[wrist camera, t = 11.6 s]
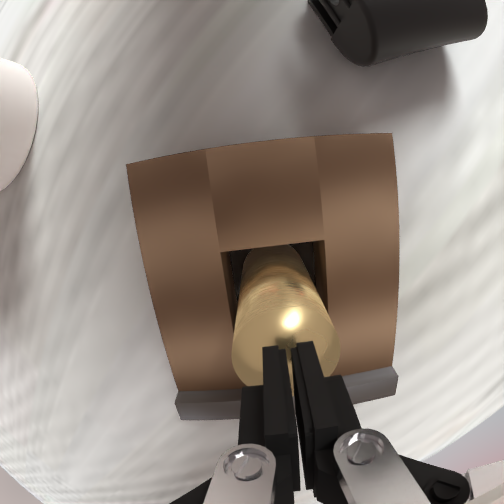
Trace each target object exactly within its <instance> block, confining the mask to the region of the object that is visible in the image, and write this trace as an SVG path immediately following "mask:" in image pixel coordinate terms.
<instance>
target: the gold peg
mask: <svg viewBox="0 0 504 504" xmlns="http://www.w3.org/2000/svg"><path fill="white" fill-rule="evenodd" d="M307 341H313V343H314V346H315V349H316V352H317V355H318V359H319V362H320V365H321V369H322V372H323V375H324V377H328V376H330V375H331V374H332V373H333V371H334V370H335V368H336V366H337V363H338V361H339V357H340V341H339V337H338V335H337V332H336V330H335V328H334V326H333V324H332V321H331V319H330V317H329V315H328V313H327V311H326V309H325V307H324V304H323V302H322V300H321V298H320V296H319V294H318V292H317V290H316V288H315V286H314V284H313V281H312V279H311V277H310V275H309V273H308V271H307V269H306V267H305V265H304V263H303V261H302V259H301V257H300V255H299V254H298V252H297V251H296V250H295V249H294V248H293V247H291V246H290V245H288V244H285V245H277V246H268V247H260V248H253V249H252V250H251V251H250V252H249V254H248V255H247V257H246V258H245V261H244V264H243V270H242V277H241V285H240V292H239V300H238V307H237V315H236V322H235V330H234V337H233V345H232V355H231V357H232V364H233V367H234V370H235V372H236V374H237V375H238V377H239V378H240V379H241V381H242V382H243V383H244V384H246V385H247V386H256V385H263V358H262V347H266V346H275V345H279V349H286V356H287V362H288V369H289V376H290V383H291V389H292V396H294V387H293V374H292V361H291V348H294V347H296V343H299V342H307Z"/></svg>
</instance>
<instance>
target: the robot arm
mask: <svg viewBox="0 0 504 504" xmlns="http://www.w3.org/2000/svg"><path fill="white" fill-rule="evenodd" d="M262 358H263V385H256V386H244V387H242V393H241V408H240V423H239V437H238V446H234V447H232V448H230V449H228V450H227V451H225V452H224V453H223V454H222V455H221V457H220V458H219V460H218V462H217V465H216V468H215V471H214V474H213V477H212V478H210V479H209V480H207V481H206V482H204V483H203V484H201V485H199V486H198V487H196V488H195V489H193V490H191V491H190V492H188V493H187V494H185V495H183V496H182V497H180V498H178V499H176V500H175V501H173V502H171V503H170V504H294V492H293V491H300V469H299V449H298V434H299V441H300V448H301V455H302V463H303V470H304V478H305V485H306V490H309V489H313V493H314V497H317V501H319V502H321V503H323V504H504V460H501V461H498V462H495V463H492V464H488V465H485V466H481V467H477V468H473V469H469V470H468V471H467V472H466V473H464V474H459V473H457V472H455V471H451V470H447V469H444V468H440V467H437V466H433V465H430V464H426V463H423V462H420V461H417V460H414V459H410V458H407V457H404V456H401V455H398V454H397V452H396V451H395V449H394V448H393V446H392V445H391V443H390V442H389V440H388V439H387V438H386V437H385V436H384V435H383V434H382V433H380V432H378V431H376V430H372V429H362V428H361V426H360V423H359V420H358V417H357V415H356V412H355V409H354V407H353V404H352V401H351V399H350V396H349V393H348V391H347V388H346V385H345V383H344V380H343V378H342V376H341V375H334V376H328V377H324V375H323V372H322V369H321V365H320V362H319V359H318V355H317V352H316V349H315V346H314V343H313V341H307V342H299V343H296V347H294V348H291V361H292V374H293V387H294V400H295V410H294V403H293V396H292V389H291V383H290V376H289V369H288V362H287V356H286V349H279V345H275V346H266V347H262ZM295 412H296V417H295ZM296 420H297V425H296ZM297 427H298V434H297Z"/></svg>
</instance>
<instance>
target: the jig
mask: <svg viewBox="0 0 504 504" xmlns="http://www.w3.org/2000/svg"><path fill="white" fill-rule="evenodd" d="M126 167H127V174H128V181H129V188H130V194H131V200H132V206H133V212H134V218H135V223H136V229H137V234H138V239H139V244H140V249H141V254H142V259H143V264H144V268H145V273H146V277H147V281H148V286H149V290H150V294H151V298H152V302H153V306H154V310H155V314H156V318H157V321H158V325H159V329H160V332H161V336H162V339H163V343H164V346H165V350H166V353H167V357H168V360H169V363H170V366H171V370H172V373H173V376H174V379H175V382H176V385H177V388H178V394H177V397H176V400H175V405H176V408H177V411H178V413H179V416H180V419H181V420H223V419H240V408H241V393H242V387H244V386H247V385H246V384H244V383H243V382H242V381H241V379H240V378H239V377H238V375H237V374H236V372H235V370H234V367H233V364H232V357H231V355H232V345H233V337H234V330H235V322H236V315H237V307H238V304H237V298H236V291H235V285H234V278H233V272H232V265H231V258H230V252H229V251H234V250H243V249H251V248H260V247H268V246H277V245H285V244H293V243H302V242H310V241H313V251H314V264H315V279H316V290H317V292H318V294H319V296H320V298H321V300H322V302H323V304H324V307H325V309H326V311H327V313H328V315H329V317H330V319H331V321H332V324H333V326H334V328H335V330H336V332H337V335H338V337H339V341H340V357H339V361H338V363H337V366H336V368H335V370H334V371H333V373H332V374H331V375H330V376H334V375H341V376H342V378H343V380H344V383H345V385H346V388H347V391H348V393H349V396H350V399H351V401H352V404H357V403H362V402H366V401H371V400H375V399H380V398H384V397H388V396H392V395H395V393H396V387H397V382H398V375H397V373H396V372H395V370H394V368H393V367H392V361H393V353H394V344H395V334H396V322H397V308H398V289H399V210H398V191H397V177H396V165H395V155H394V146H393V137H392V133H371V134H343V135H325V136H310V137H298V138H287V139H276V140H267V141H258V142H250V143H242V144H235V145H228V146H221V147H214V148H208V149H202V150H196V151H190V152H184V153H179V154H174V155H168V156H163V157H158V158H153V159H149V160H144V161H139V162H135V163H130V164H126ZM293 403H294V410H295V400H294V396H293ZM295 414H296V412H295Z"/></svg>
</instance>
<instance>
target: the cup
mask: <svg viewBox="0 0 504 504" xmlns="http://www.w3.org/2000/svg"><path fill="white" fill-rule="evenodd" d="M37 117H38V96H37V88H36V85H35V82H34V79H33V77H32V75H31V74H30V72H29V71H28V70H27V69H26V68H25V67H23V66H22V65H20V64H18V63H15V62H12V61H9V60H6V59H2V58H0V191H1V190H3V189H5V188H6V187H7V186H8V185H9V184H10V183H11V182H12V181H13V180H14V178H15V177H16V176H17V175H18V173H19V172H20V170H21V168H22V166H23V164H24V163H25V161H26V158H27V156H28V153H29V151H30V148H31V145H32V141H33V138H34V134H35V130H36V123H37Z"/></svg>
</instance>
